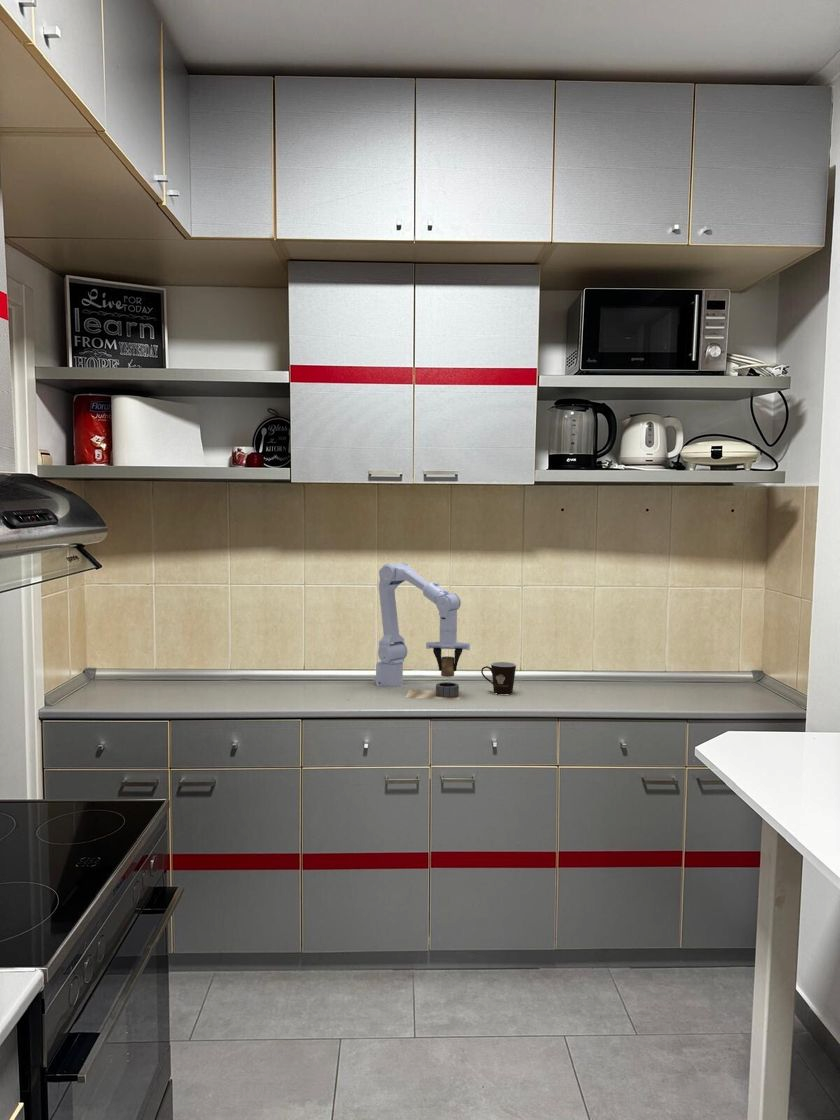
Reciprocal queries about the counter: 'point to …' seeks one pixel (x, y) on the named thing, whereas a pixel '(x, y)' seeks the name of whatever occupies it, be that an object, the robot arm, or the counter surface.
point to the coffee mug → (502, 677)
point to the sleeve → (447, 690)
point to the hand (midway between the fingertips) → (447, 670)
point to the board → (428, 695)
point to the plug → (447, 666)
